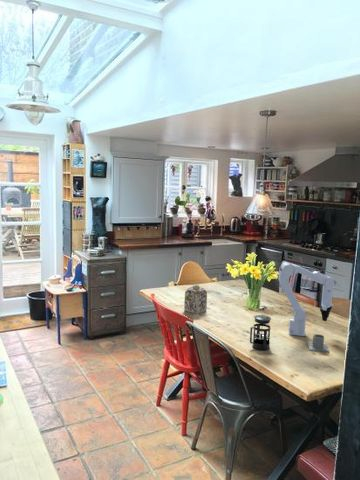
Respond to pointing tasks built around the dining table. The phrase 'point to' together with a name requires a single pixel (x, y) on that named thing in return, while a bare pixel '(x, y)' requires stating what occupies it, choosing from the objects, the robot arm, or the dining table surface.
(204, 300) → the decorative jar
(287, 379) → the dining table surface
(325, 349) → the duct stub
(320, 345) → the collar
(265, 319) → the french press
